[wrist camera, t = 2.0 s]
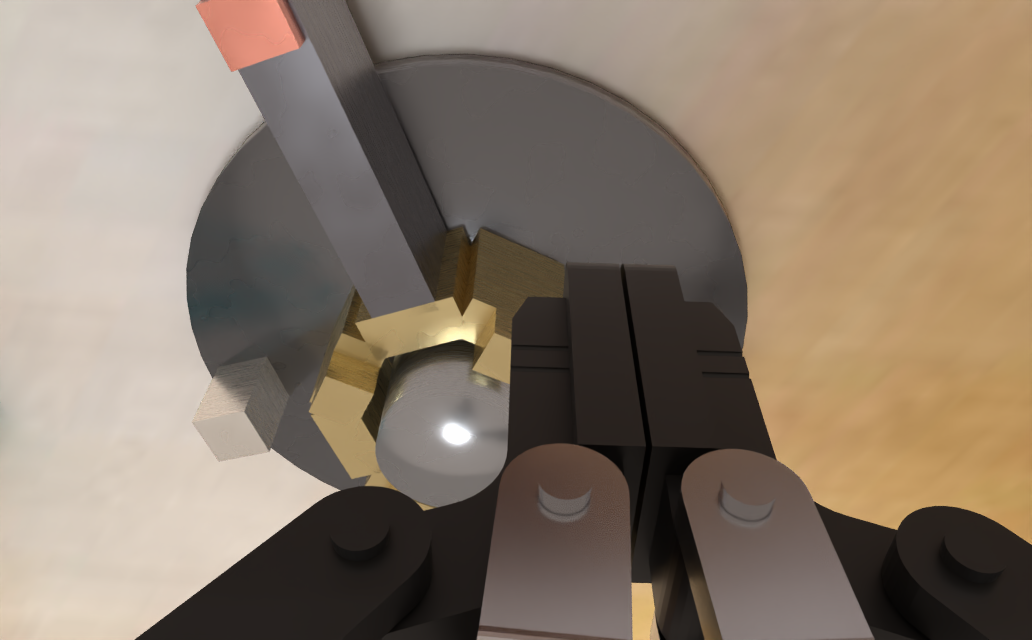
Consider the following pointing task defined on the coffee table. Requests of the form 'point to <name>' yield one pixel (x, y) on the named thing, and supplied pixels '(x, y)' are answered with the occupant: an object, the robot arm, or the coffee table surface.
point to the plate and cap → (461, 203)
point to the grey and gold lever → (371, 216)
